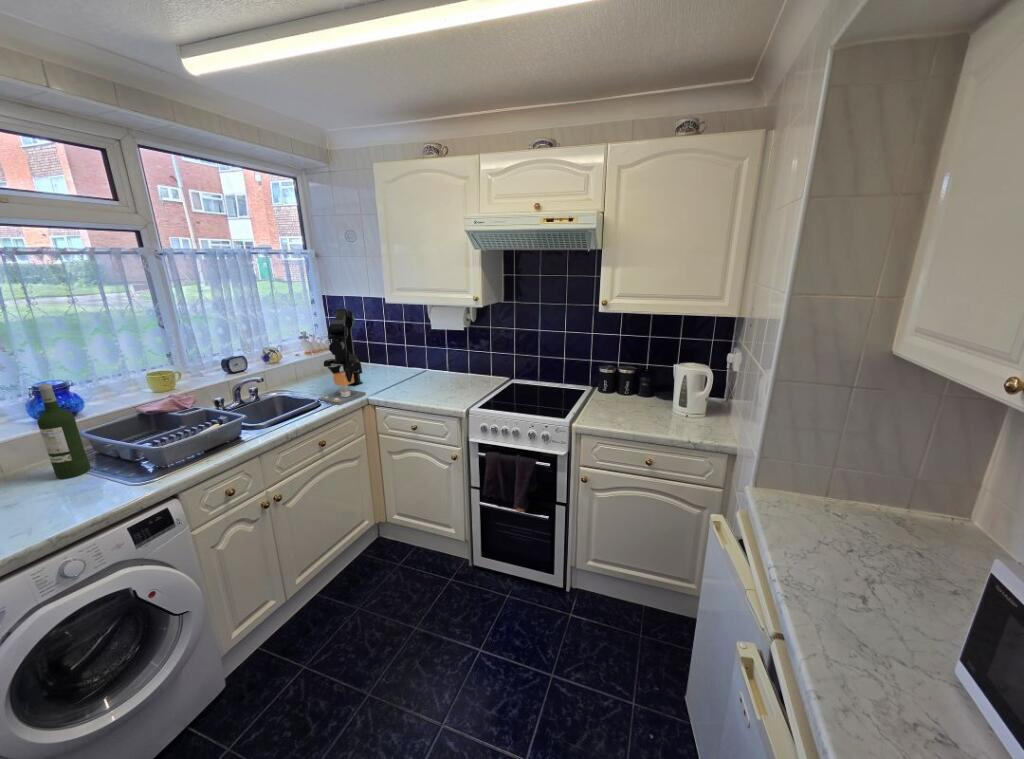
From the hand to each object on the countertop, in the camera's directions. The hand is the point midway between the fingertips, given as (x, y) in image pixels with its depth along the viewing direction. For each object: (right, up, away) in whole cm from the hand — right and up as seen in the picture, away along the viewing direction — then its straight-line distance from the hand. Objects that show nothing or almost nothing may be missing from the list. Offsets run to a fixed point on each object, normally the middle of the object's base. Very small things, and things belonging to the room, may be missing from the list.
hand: (344, 381), depth 201 cm
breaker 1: (-4, -5, +9) cm, 11 cm away
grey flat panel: (-3, -9, +5) cm, 10 cm away
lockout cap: (0, -1, 0) cm, 1 cm away
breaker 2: (0, -7, +2) cm, 8 cm away
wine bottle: (-61, -30, -67) cm, 95 cm away
